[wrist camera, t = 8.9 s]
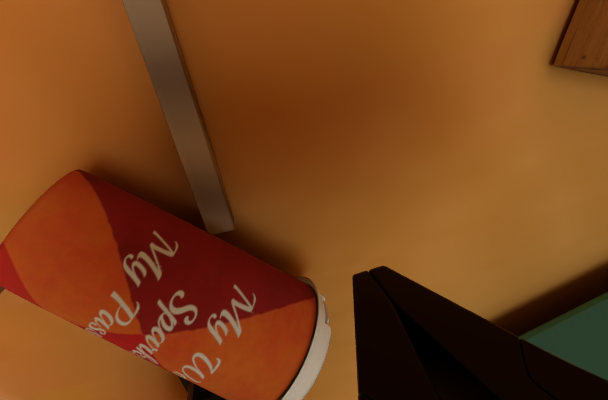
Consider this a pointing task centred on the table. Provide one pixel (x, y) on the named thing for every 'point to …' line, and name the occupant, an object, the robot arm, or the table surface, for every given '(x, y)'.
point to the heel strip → (180, 109)
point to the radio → (577, 336)
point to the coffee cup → (167, 291)
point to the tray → (586, 39)
